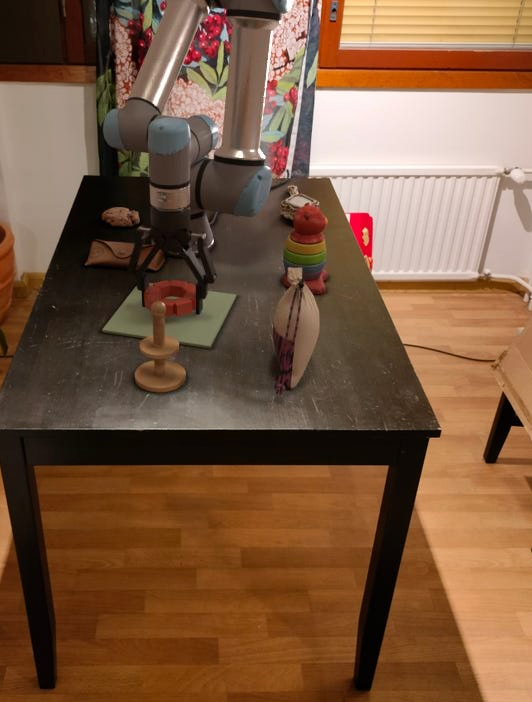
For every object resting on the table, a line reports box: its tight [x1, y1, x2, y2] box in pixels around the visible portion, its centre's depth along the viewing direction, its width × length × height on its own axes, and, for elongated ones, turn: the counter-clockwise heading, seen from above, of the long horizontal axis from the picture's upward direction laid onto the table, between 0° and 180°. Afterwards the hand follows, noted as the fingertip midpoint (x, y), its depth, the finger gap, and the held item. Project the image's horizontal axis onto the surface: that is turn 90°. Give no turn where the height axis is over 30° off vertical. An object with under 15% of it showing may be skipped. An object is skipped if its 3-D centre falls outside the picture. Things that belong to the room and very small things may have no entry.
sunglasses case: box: [84, 239, 166, 272], centre depth 166 cm, size 18×7×7 cm
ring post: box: [134, 301, 187, 393], centre depth 123 cm, size 9×9×15 cm
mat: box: [101, 282, 237, 349], centre depth 146 cm, size 22×22×1 cm
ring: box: [144, 279, 196, 317], centre depth 145 cm, size 11×11×3 cm
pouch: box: [272, 267, 321, 396], centre depth 126 cm, size 25×8×19 cm, turn 172°
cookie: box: [101, 206, 140, 228], centre depth 188 cm, size 10×11×3 cm
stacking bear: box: [281, 202, 329, 295], centre depth 155 cm, size 11×10×18 cm
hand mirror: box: [278, 184, 320, 221], centre depth 197 cm, size 11×6×30 cm
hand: (172, 307), depth 146 cm, fingers closed on ring, 11 cm apart
